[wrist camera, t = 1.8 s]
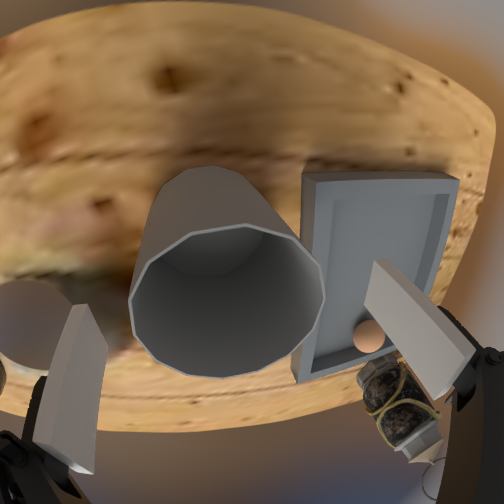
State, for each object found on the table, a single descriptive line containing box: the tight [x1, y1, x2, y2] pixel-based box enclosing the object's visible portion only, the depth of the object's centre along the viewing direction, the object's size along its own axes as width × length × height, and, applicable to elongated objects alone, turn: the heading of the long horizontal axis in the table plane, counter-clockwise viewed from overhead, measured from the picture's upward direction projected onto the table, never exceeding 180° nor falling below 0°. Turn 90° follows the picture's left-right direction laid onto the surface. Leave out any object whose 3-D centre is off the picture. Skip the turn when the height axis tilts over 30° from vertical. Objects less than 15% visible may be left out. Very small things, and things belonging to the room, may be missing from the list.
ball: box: [353, 320, 385, 353], centre depth 27 cm, size 4×4×4 cm
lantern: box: [357, 354, 446, 501], centre depth 26 cm, size 9×8×25 cm
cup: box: [128, 165, 326, 379], centre depth 16 cm, size 8×8×10 cm
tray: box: [290, 171, 460, 384], centre depth 25 cm, size 16×22×2 cm
